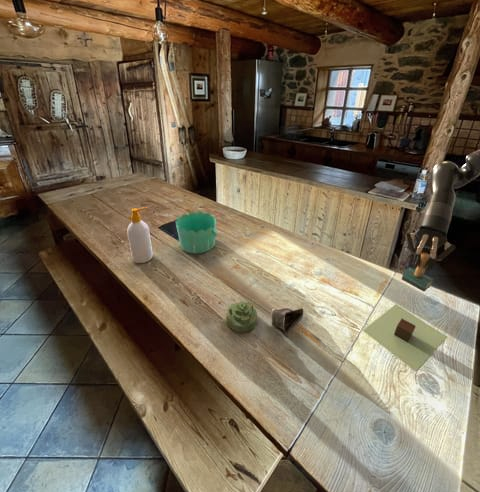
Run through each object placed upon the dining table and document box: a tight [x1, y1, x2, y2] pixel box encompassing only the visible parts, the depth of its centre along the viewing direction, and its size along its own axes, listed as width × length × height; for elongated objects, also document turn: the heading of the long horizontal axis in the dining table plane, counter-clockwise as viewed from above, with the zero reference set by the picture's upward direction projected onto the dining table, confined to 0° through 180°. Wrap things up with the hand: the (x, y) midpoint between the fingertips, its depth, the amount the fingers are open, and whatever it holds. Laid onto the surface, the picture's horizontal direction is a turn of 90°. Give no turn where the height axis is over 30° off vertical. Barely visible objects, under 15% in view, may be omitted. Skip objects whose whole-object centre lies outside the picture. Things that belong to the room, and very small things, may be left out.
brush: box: [401, 251, 434, 292], centre depth 84 cm, size 4×7×11 cm, turn 34°
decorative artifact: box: [225, 301, 258, 333], centre depth 86 cm, size 10×7×10 cm
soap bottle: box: [126, 207, 154, 264], centre depth 113 cm, size 9×9×24 cm
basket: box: [175, 211, 219, 254], centre depth 125 cm, size 19×18×13 cm
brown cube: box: [394, 318, 416, 342], centre depth 81 cm, size 4×4×4 cm
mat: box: [362, 303, 448, 373], centre depth 83 cm, size 20×16×1 cm
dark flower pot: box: [270, 307, 305, 336], centre depth 87 cm, size 10×7×12 cm
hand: (421, 268), depth 82 cm, fingers closed on brush, 2 cm apart
